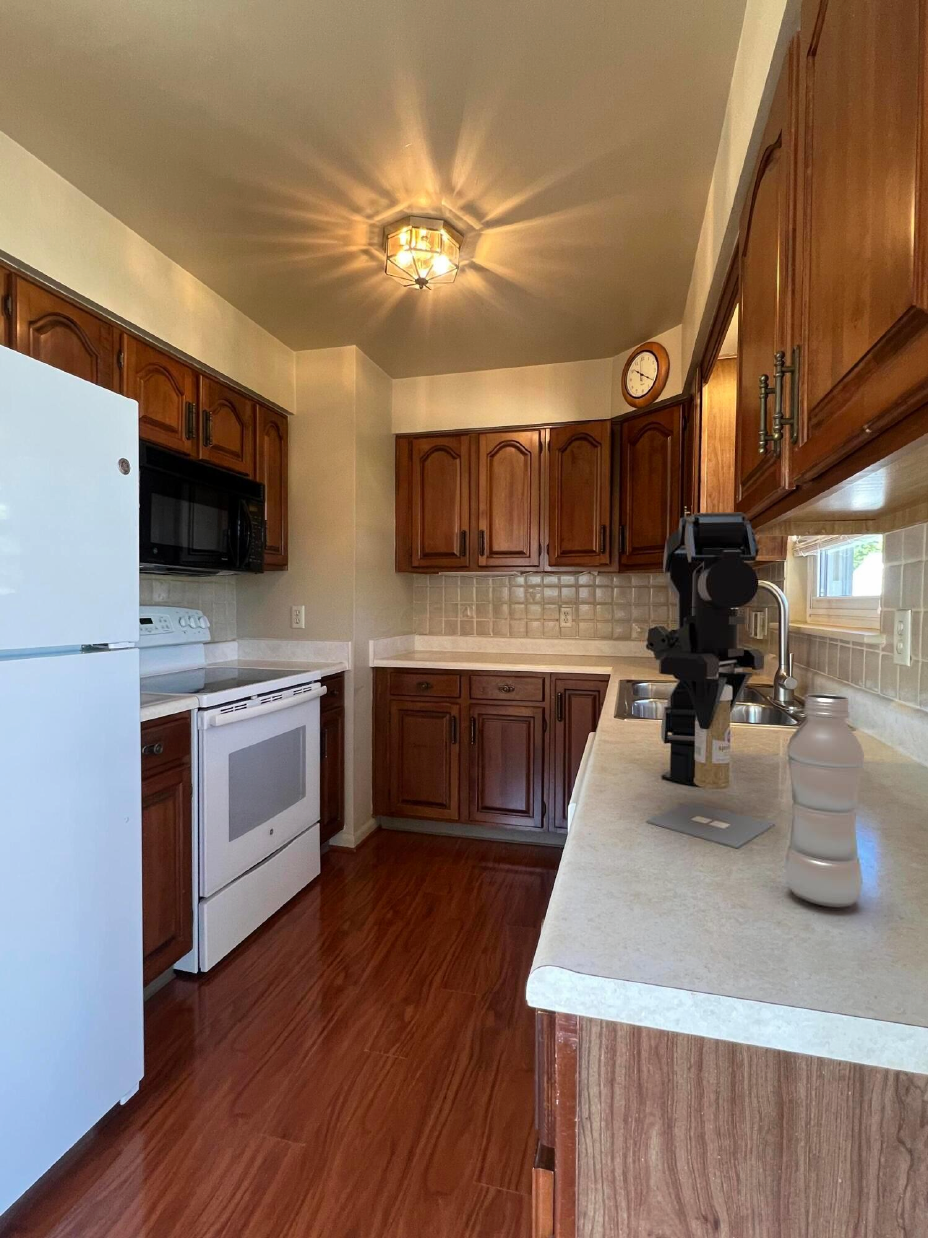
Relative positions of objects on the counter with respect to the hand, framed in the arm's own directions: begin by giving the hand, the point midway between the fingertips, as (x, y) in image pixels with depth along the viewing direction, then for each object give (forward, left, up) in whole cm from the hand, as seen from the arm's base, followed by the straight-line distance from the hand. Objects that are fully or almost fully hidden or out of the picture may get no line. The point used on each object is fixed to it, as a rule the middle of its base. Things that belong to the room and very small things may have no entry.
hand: (712, 726), depth 81 cm
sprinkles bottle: (0, 0, -8) cm, 8 cm away
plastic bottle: (+13, +17, -13) cm, 25 cm away
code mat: (0, 0, -13) cm, 13 cm away
